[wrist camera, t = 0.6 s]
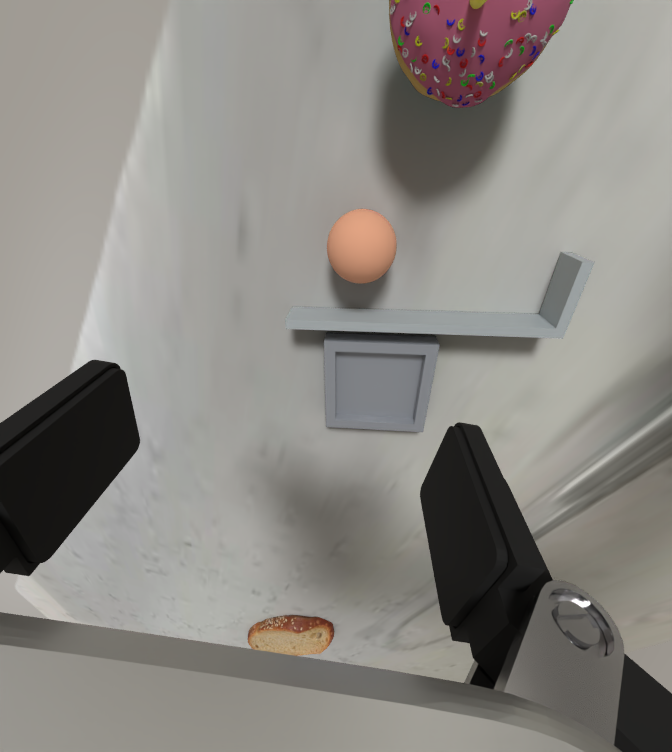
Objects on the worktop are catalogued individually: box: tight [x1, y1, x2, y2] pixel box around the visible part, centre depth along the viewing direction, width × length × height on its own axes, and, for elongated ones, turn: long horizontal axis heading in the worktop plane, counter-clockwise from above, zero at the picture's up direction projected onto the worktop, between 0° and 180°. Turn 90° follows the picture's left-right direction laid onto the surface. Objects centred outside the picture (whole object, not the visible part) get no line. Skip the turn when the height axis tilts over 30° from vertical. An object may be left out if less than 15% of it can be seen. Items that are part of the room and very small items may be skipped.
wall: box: [285, 252, 595, 338], centre depth 26 cm, size 22×6×3 cm, turn 90°
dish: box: [324, 332, 439, 432], centre depth 32 cm, size 10×10×2 cm
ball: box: [327, 209, 396, 283], centre depth 24 cm, size 5×5×5 cm
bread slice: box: [248, 615, 334, 656], centre depth 67 cm, size 18×18×4 cm
